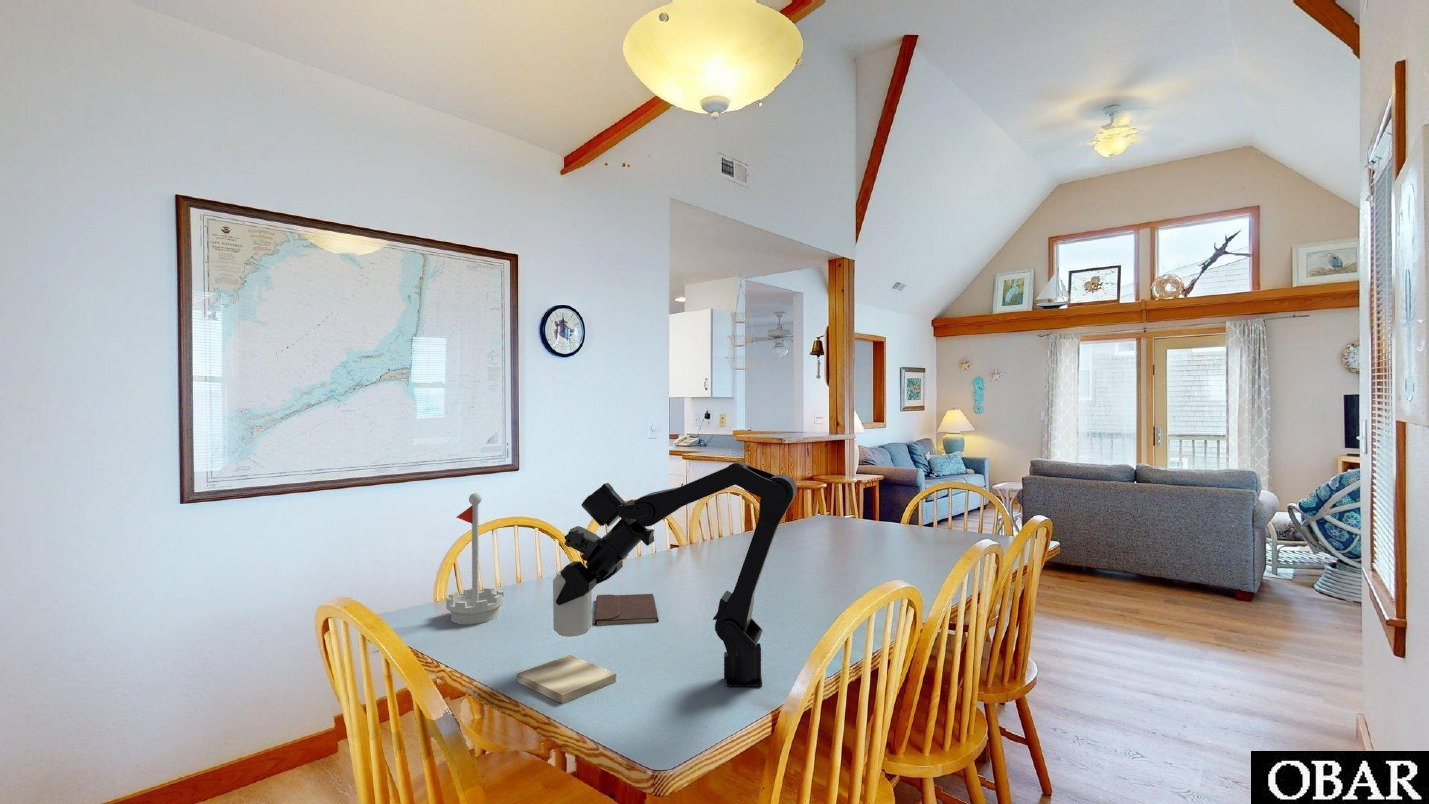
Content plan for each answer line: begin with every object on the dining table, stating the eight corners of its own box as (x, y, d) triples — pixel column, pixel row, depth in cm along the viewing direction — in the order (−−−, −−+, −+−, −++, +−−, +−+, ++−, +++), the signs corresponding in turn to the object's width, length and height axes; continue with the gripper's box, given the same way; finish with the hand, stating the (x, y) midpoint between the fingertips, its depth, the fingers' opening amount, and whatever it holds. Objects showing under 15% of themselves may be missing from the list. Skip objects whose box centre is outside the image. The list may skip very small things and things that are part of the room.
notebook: (653, 599, 176) (653, 592, 176) (658, 624, 157) (658, 615, 157) (596, 602, 174) (596, 594, 174) (594, 627, 154) (594, 618, 154)
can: (545, 633, 130) (544, 572, 130) (573, 622, 136) (572, 564, 136) (572, 640, 126) (571, 577, 126) (600, 629, 132) (599, 569, 132)
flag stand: (481, 605, 170) (481, 488, 170) (514, 614, 163) (514, 491, 162) (435, 619, 159) (434, 494, 159) (468, 629, 152) (468, 498, 152)
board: (516, 681, 123) (516, 673, 123) (569, 662, 132) (569, 654, 132) (562, 703, 114) (562, 695, 114) (616, 681, 123) (616, 673, 123)
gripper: (607, 506, 140) (559, 557, 142) (569, 522, 121) (515, 580, 124) (643, 544, 138) (594, 595, 140) (610, 566, 120) (555, 624, 122)
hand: (566, 597), depth 132 cm, fingers closed on can, 7 cm apart
